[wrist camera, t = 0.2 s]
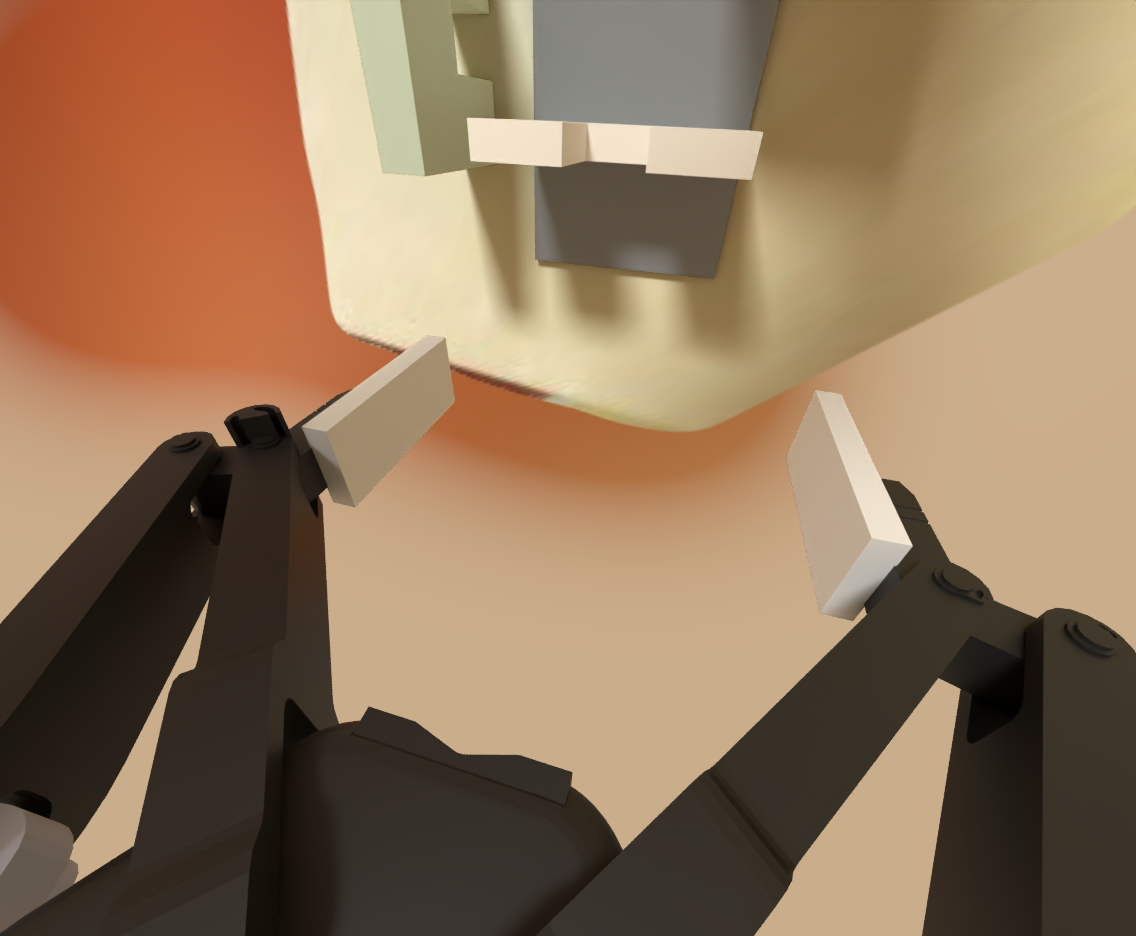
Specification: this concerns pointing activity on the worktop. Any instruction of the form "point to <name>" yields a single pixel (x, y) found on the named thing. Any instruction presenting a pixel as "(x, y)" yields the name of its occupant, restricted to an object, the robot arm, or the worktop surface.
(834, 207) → the worktop surface
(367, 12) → the pale green tall block
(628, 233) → the notched wall on base
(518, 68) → the worktop surface
